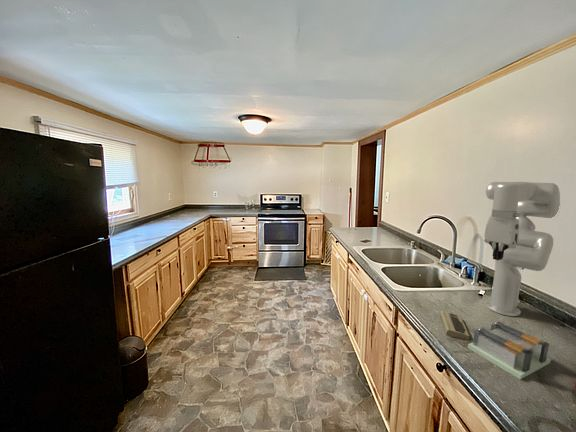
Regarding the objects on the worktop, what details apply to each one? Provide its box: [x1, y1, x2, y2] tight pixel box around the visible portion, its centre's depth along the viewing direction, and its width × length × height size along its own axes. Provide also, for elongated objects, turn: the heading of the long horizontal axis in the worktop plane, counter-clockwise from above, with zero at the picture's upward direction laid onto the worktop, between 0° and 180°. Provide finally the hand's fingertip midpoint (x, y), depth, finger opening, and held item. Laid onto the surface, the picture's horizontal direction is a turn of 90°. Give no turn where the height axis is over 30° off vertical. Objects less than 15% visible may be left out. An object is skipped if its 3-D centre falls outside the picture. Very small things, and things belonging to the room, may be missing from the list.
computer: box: [439, 310, 471, 341], centre depth 107 cm, size 16×8×3 cm, turn 158°
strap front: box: [477, 327, 527, 353], centre depth 88 cm, size 2×14×1 cm, turn 23°
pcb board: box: [467, 342, 552, 380], centre depth 91 cm, size 18×16×2 cm
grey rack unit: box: [472, 321, 550, 372], centre depth 90 cm, size 16×15×6 cm
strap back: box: [493, 321, 545, 345], centre depth 92 cm, size 2×14×1 cm, turn 23°
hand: (497, 259), depth 104 cm, fingers closed
